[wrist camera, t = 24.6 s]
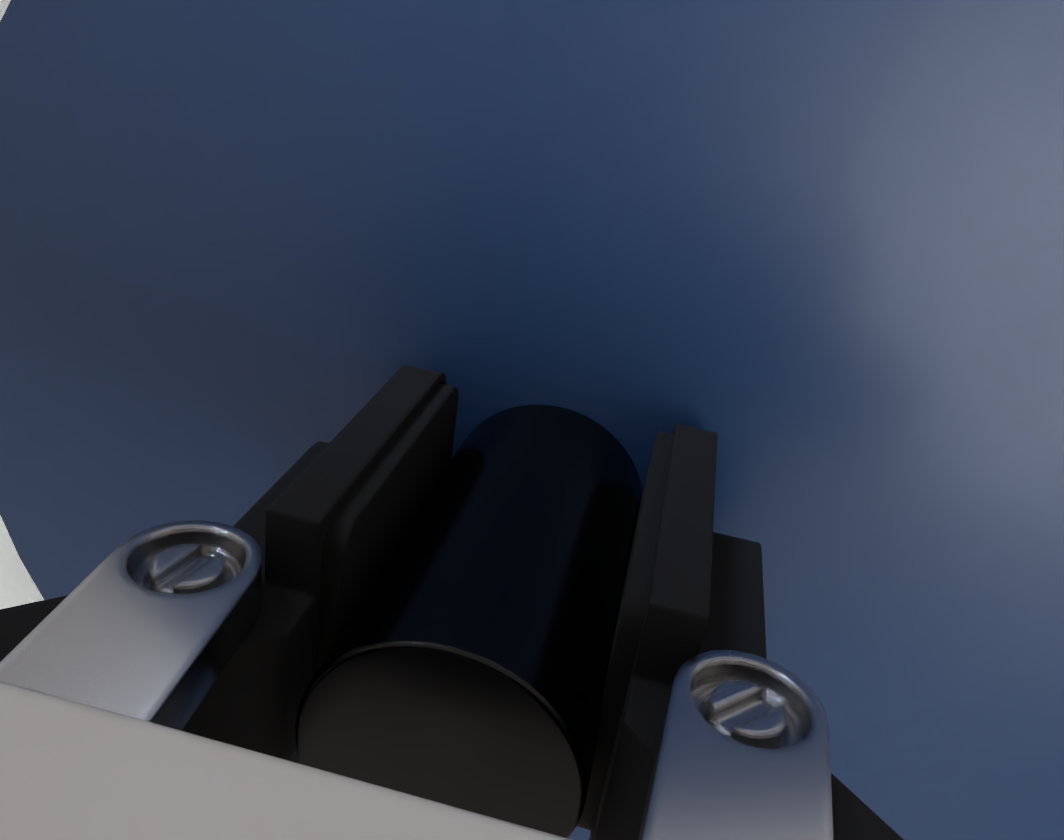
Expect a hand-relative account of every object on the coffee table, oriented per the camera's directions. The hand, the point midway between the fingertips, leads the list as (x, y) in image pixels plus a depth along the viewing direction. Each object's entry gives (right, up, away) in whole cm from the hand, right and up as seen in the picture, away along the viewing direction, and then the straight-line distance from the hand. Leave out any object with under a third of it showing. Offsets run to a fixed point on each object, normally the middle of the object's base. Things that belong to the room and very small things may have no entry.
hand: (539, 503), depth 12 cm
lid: (0, 0, +1) cm, 1 cm away
